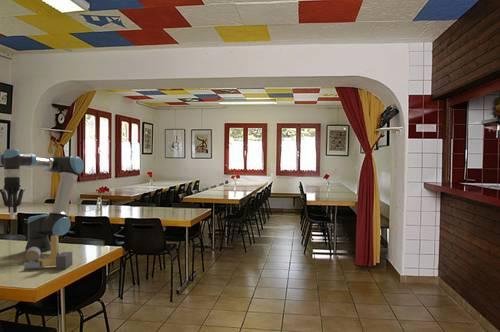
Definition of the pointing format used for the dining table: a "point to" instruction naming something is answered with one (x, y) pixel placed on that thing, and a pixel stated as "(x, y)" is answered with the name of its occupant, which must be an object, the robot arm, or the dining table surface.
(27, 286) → the dining table surface
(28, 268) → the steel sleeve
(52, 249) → the t-shaped wooden piece
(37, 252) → the ceramic mug
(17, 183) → the robot arm
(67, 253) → the slotted grey block
